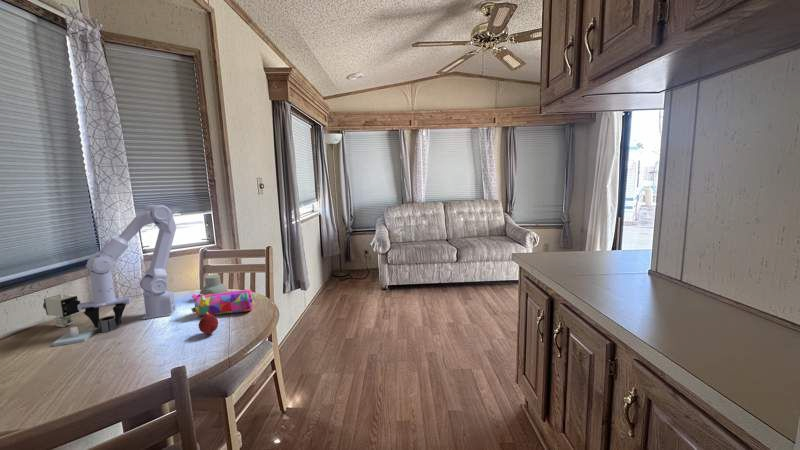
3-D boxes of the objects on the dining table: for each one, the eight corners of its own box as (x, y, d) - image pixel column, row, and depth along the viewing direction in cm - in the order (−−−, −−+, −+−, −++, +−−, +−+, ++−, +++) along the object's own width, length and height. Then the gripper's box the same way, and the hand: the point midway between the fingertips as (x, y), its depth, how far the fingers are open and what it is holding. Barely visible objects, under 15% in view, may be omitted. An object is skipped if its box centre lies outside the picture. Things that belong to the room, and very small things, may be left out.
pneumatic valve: (69, 329, 117) (64, 297, 116) (45, 326, 120) (40, 295, 118) (86, 323, 123) (82, 292, 121) (64, 320, 125) (59, 290, 124)
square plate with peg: (95, 331, 115) (94, 320, 115) (84, 341, 108) (83, 330, 108) (66, 335, 112) (64, 325, 112) (52, 346, 105) (50, 334, 105)
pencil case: (190, 321, 123) (188, 298, 122) (198, 311, 132) (196, 290, 131) (252, 314, 129) (250, 292, 128) (256, 305, 138) (254, 285, 137)
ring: (121, 324, 121) (119, 314, 120) (115, 330, 116) (113, 320, 115) (102, 327, 119) (101, 317, 118) (95, 333, 114) (94, 322, 113)
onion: (222, 332, 113) (220, 310, 112) (207, 339, 108) (204, 316, 107) (211, 329, 116) (209, 308, 115) (196, 336, 111) (193, 314, 109)
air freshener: (231, 294, 152) (229, 274, 150) (218, 301, 144) (216, 279, 142) (211, 293, 154) (209, 273, 153) (197, 299, 146) (194, 278, 144)
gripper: (70, 295, 109) (76, 333, 111) (124, 289, 114) (129, 326, 116) (81, 289, 115) (86, 325, 117) (131, 284, 121) (136, 318, 123)
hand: (108, 325), depth 117 cm, fingers closed on ring, 5 cm apart
